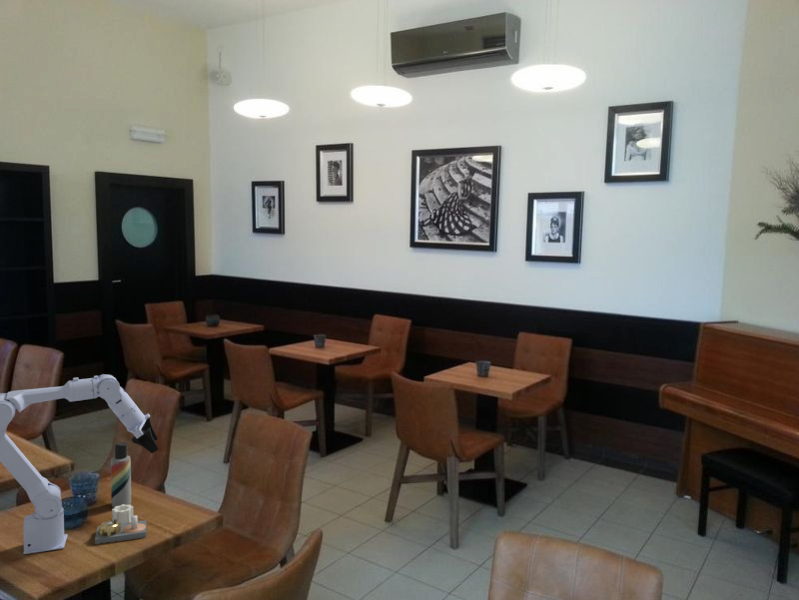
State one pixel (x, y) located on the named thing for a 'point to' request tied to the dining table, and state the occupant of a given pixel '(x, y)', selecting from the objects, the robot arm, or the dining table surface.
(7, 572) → the dining table surface
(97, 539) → the board
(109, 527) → the gear
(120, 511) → the loose gear
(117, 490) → the lotion bottle
